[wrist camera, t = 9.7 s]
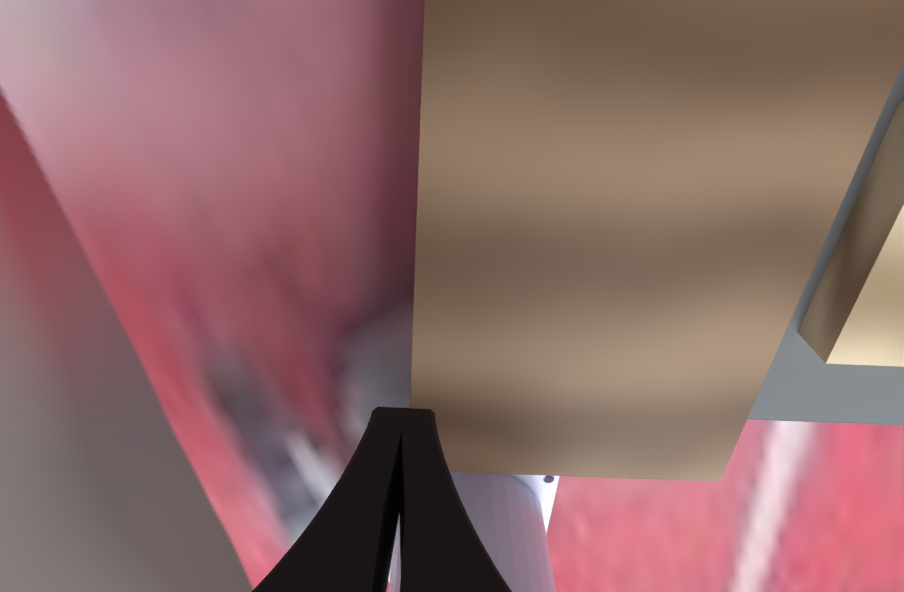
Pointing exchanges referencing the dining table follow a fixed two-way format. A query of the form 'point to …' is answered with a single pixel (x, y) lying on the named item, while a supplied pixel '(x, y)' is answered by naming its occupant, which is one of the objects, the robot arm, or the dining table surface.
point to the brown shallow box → (626, 218)
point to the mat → (799, 367)
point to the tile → (866, 270)
